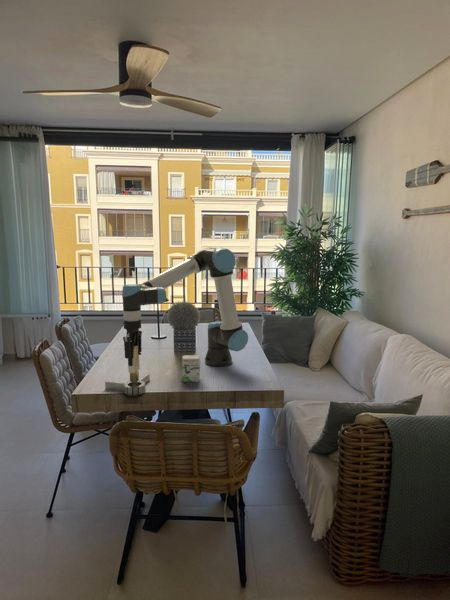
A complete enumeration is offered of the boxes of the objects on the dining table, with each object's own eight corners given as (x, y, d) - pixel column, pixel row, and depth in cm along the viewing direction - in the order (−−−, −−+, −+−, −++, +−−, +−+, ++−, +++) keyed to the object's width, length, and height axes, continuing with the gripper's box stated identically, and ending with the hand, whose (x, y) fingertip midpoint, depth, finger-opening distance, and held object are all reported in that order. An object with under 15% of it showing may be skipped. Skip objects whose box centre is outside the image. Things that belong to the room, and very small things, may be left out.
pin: (140, 379, 177) (139, 345, 175) (136, 382, 173) (135, 347, 171) (132, 378, 178) (131, 344, 176) (128, 381, 174) (126, 346, 172)
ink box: (182, 382, 188) (181, 358, 187) (182, 378, 193) (182, 355, 192) (199, 381, 189) (199, 358, 187) (199, 377, 194) (199, 355, 192)
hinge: (157, 381, 190) (157, 374, 189) (139, 396, 171) (139, 388, 171) (121, 377, 194) (121, 371, 194) (100, 392, 176) (100, 384, 175)
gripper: (133, 315, 181) (135, 364, 184) (114, 323, 164) (116, 376, 168) (148, 316, 179) (149, 365, 182) (131, 324, 163) (132, 377, 166)
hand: (134, 370), depth 175 cm, fingers closed on pin, 4 cm apart
